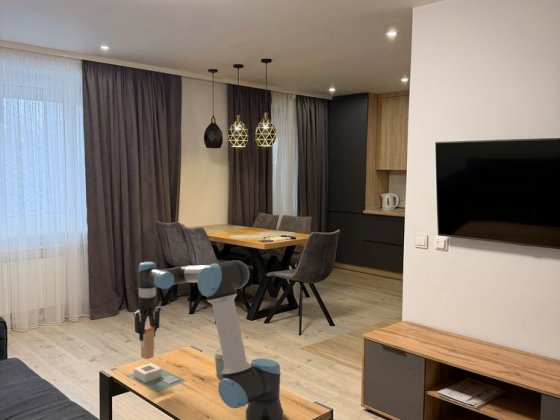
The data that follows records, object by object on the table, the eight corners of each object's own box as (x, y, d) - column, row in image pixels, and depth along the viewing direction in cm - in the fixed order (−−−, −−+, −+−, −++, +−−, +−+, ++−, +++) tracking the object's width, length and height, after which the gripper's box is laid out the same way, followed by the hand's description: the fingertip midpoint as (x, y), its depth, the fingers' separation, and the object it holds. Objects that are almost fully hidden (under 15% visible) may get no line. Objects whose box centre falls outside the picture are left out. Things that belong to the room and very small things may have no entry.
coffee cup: (228, 381, 228) (229, 356, 227) (211, 379, 230) (211, 354, 229) (234, 373, 236) (234, 349, 235) (217, 371, 238) (217, 347, 237)
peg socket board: (186, 383, 224) (186, 372, 224) (157, 395, 212) (157, 383, 212) (155, 368, 240) (155, 357, 239) (126, 378, 228) (126, 367, 227)
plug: (154, 357, 226) (154, 327, 225) (146, 359, 222) (145, 329, 221) (148, 354, 229) (148, 324, 228) (140, 357, 225) (140, 327, 224)
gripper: (158, 291, 232) (158, 339, 234) (126, 297, 219) (126, 348, 221) (167, 294, 227) (167, 343, 229) (135, 301, 214) (135, 352, 216)
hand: (147, 345), depth 225 cm, fingers closed on plug, 4 cm apart
